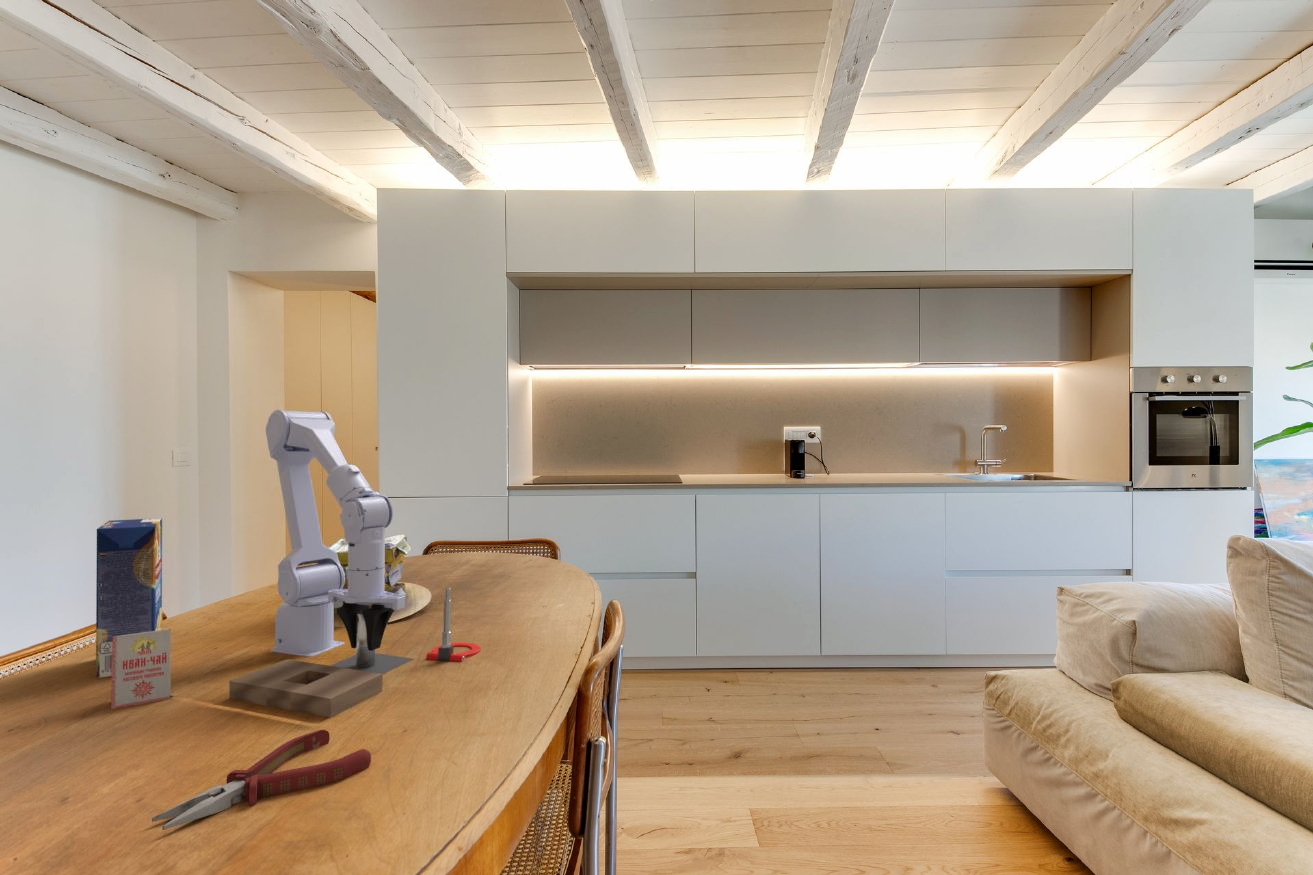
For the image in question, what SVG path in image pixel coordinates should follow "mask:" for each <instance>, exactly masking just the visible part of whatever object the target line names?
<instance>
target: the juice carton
mask: <svg viewBox="0 0 1313 875" xmlns="http://www.w3.org/2000/svg"><path fill="white" fill-rule="evenodd" d="M95 587H96V594H95V596H96V601H95V602H96V604H95V606H96V607H95V608H96V614H95V616H96V617H95V618H96V619H95V620H96V621H95V622H96V623H95V628H96V630H95V631H96V632H95V633H96V634H95V655H96V656H95V679H100V678H106V677H111V670H112V642H113V636H121V635H128V634H136V633H143V632H151V631H158V630H163V629H162V626H163V625H162V620H163V617H162V616H163V612H162V611H163V604H162V603H163V600H162V598H163V593H162V592H163V517H159V518H157V517H155V518H153V517H152V518H140V519H139V518H137V519H136V518H134V519H117V520H116V519H115V520H108V521H107V522H105V523H104V524H102V525H101V526H99V527H98V528H97V529H96V586H95Z"/></svg>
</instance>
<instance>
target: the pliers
mask: <svg viewBox="0 0 1313 875" xmlns="http://www.w3.org/2000/svg"><path fill="white" fill-rule="evenodd" d="M329 742H330V732H329V731H328V730H326V729H318V730H315V731H312V732H309V733H305V734H303V735H300V736H297V737H294V738H293V739H291V740H290V739H289V740H288V741H286V742H285V743H283V744H281V745H280V746H278V747H277V748H275V749H274V750H272V751H271V752H270V753H268V754H267V755H266V756H264V757H263V758H262V759H260V760H259V761H257V762H255V763H254V764H253V765H251V766H250V767H249V768H247V769H234V770H233V771H231V772H229V773H228V774H227V776H226V783H225V785H224V786H223V784H219V785H217V786H214V787H211V788H209V789H207V790H205V791H203V792H201V793H199V794H197V795H195V796H193V797H191V798H189V799H187V800H185V801H183V802H181V803H179V804H177V805H175V806H173V807H171V808H169V809H167V810H165V811H163V812H161V813H160V814H157V815H155V816H154V817H152V818H151V822H152V823H153V822H154V823H155V822H159V821H162V820H167V819H172V818H173V819H172V820H170V821H169V822H167V823H165V824H164V825H162V831H163V830H164V831H165V830H167V829H171V828H173V827H174V828H175V827H177V826H179V825H183V824H186V823H190V822H192V821H196V820H198V819H201V818H204V817H208V816H211V815H213V814H217V813H220V812H223V811H225V810H228V809H229V808H231V807H232V805H234V804H235V805H236V804H238V803H241V802H243V801H244V802H248V806H249V807H250V806H254V805H257V801H258V799H261V798H266V797H267V798H268V797H271V796H277V795H281V794H287V793H291V792H296V791H300V790H305V789H310V788H315V787H316V788H317V787H321V786H324V785H328V784H329V785H330V784H333V783H335V782H339V781H342V780H345V779H346V778H348V777H351V776H352V775H355V774H357V773H359V772H362V771H363V770H366V769H367V768H369V767H370V765H371V762H372V754H371V752H370V751H369V750H368V749H365V748H361V749H358V750H357V751H354V752H351V753H350V754H347V755H345V756H343V757H341V758H338V759H335V760H332V761H327V762H324V763H319V764H314V765H308V766H303V767H296V768H293V769H292V768H291V769H287V770H280V771H277V770H278V769H279V768H281V767H282V766H283V765H284V764H286V763H287V762H289V761H291V759H294V758H295V757H298V756H300V755H302V754H305V753H307V752H309V751H312V750H314V749H317V748H320V747H323V746H325V745H328V744H329ZM275 771H276V772H275Z"/></svg>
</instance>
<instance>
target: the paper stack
mask: <svg viewBox="0 0 1313 875" xmlns="http://www.w3.org/2000/svg"><path fill="white" fill-rule="evenodd" d="M407 538H408V537H407V536H406V535H405V534H397V535H392V536H385V578H384V591H387V592H390V593H393V594H397V595H401V596H405V607H404V608H402V609H399V610H394V612H393V613H392V615H391V617H390V619H389V621H388V623H391V622H394V621H397V620H400V619H404V618H406V617H409V616H411V615H413V614H415V613H417V612H419V611H420V610H423V609H424V608H425V607H426V606H427V605H428V604H429V603H430V602H431V600H432V593H431V591H430V590H429V589H428V588H427V587H425V586H423V585H420V584H416V583H410V582H401V579H402V575H403V573H404V562H403V559H404V558H405V555H406V556H407V555H408V553H410V551H411V550H412V548H411V546H410V545H409V542H408V541H407V540H408V539H407ZM327 547H328V548H329V549H331V550H333V551H335V552H336V553H337V555H338V559H339V562H340V565H341V566H342V568H343V570H344V573H345V583H344V586H343V589H348V542H346V540H345V537H343V538H340V539H339V540H338V541H336V542H334V543H333V544H331V545H329V546H327ZM399 581H400V582H399ZM342 605H343V603H342V602H334V628H345V625H344V623H343V621H342V620H341V618H340V616H339V615H338V614H337V608H339V607H342ZM369 608H371V606H369Z"/></svg>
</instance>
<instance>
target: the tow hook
mask: <svg viewBox="0 0 1313 875" xmlns="http://www.w3.org/2000/svg"><path fill="white" fill-rule="evenodd" d="M451 612H452V599H451V587H446V588H445V599H444V600H443V621H442V622H443V623H442V625H443V626H442V627H443V628H442V632H441V645H437V646H435V647H434V648H433V649H432V650H431V652H427V654H426V656H425V657H426V658H425V660H429V661H441V662H442V661H443V662H459V663H460V662H461V663H462V662H464V661H465V660H466V658H470V657H472V656H476V655H477V654H479V653H480V652H481V646H480V645H478V644H475V643H471V642H452V641H451V640H452V632H451V619H452V618H451V615H452V613H451ZM459 647H463V648H469V649H470V650H468V651H464V652H457V653H454V648H459Z"/></svg>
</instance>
